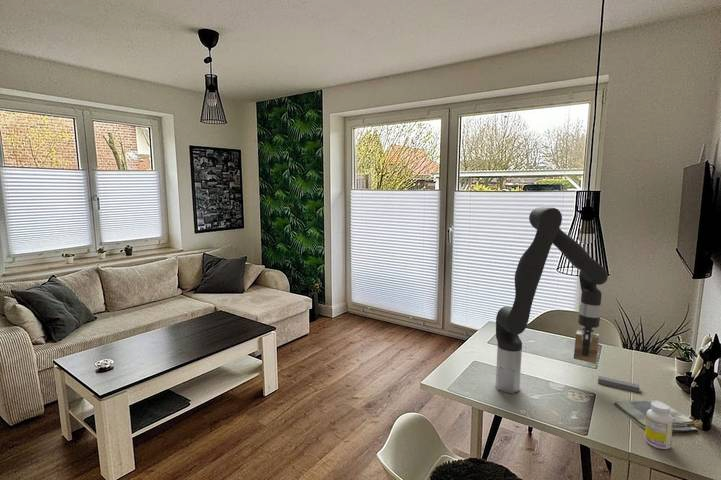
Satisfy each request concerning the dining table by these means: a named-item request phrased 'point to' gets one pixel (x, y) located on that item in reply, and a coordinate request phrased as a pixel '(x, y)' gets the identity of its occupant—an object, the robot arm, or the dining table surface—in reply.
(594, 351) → the walnut slab
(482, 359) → the dining table surface
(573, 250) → the robot arm
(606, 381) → the rail
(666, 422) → the supplement bottle
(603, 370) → the dining table surface
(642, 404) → the dish towel
